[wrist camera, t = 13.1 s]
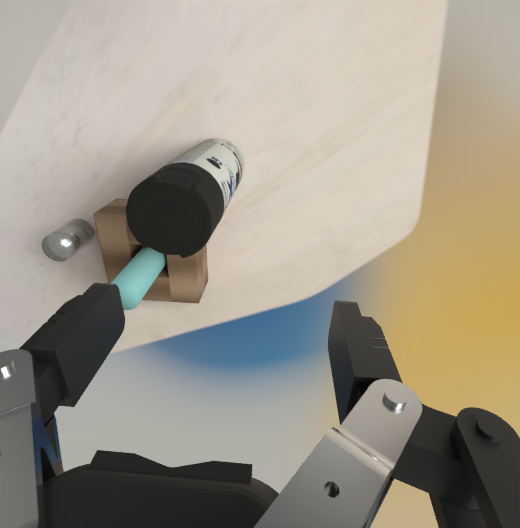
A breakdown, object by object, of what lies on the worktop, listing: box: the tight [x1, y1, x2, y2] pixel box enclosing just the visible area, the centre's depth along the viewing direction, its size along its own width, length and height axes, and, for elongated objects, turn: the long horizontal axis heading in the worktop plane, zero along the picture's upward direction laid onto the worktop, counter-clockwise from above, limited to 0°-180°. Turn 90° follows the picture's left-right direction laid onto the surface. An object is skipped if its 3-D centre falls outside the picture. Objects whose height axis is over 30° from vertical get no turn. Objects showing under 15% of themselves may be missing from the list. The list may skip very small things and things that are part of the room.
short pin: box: [42, 219, 94, 261], centre depth 45 cm, size 4×4×6 cm
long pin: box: [110, 247, 167, 310], centre depth 41 cm, size 4×4×14 cm
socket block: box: [94, 199, 208, 303], centre depth 45 cm, size 12×12×6 cm
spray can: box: [126, 139, 244, 258], centre depth 33 cm, size 7×7×20 cm
